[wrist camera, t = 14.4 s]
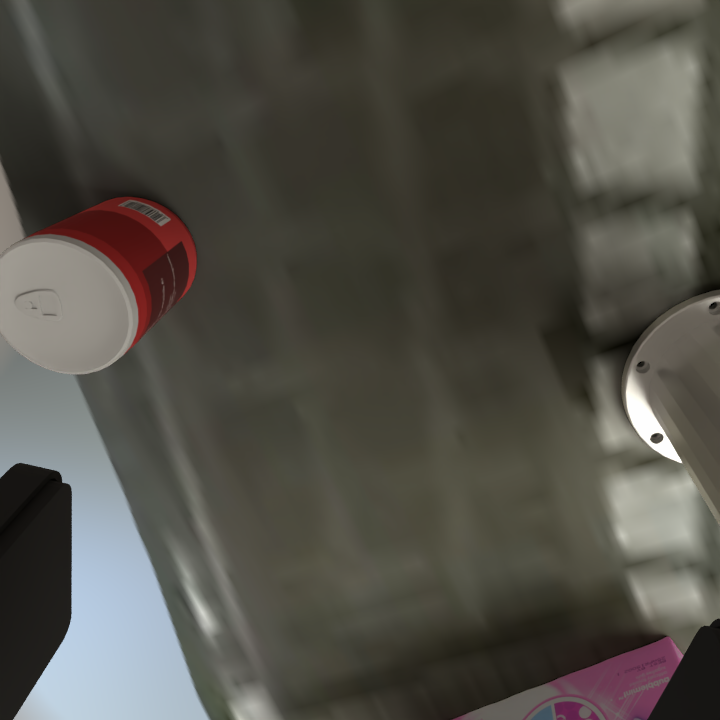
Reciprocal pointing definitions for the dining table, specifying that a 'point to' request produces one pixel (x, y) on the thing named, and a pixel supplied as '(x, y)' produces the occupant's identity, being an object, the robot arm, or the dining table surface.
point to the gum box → (595, 690)
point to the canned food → (94, 283)
